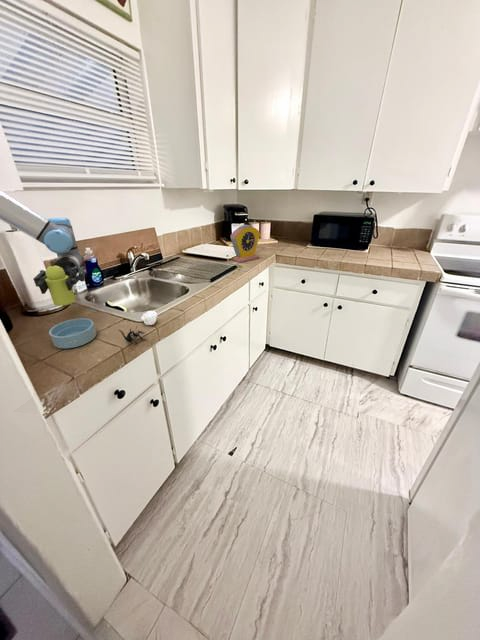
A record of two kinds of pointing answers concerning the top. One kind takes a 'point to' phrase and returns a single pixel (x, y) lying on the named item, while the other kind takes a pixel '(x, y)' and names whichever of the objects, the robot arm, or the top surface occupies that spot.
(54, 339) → the bowl
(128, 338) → the creature
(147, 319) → the dumpling
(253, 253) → the yellow mantel clock
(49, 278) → the yellow-green bottle
